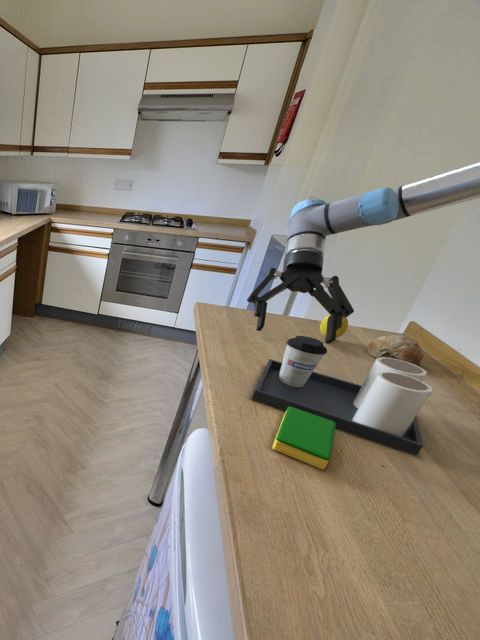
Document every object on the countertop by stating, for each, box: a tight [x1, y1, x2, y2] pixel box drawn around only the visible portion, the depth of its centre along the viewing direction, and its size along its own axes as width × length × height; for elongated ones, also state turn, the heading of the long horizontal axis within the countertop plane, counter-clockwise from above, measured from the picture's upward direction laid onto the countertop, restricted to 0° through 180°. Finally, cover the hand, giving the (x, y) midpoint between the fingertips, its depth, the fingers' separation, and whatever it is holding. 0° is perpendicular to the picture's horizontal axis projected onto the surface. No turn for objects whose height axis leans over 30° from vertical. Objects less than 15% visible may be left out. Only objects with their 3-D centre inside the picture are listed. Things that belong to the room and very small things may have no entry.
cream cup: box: [353, 357, 428, 408], centre depth 79 cm, size 7×7×10 cm
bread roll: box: [366, 334, 425, 366], centre depth 104 cm, size 10×10×8 cm
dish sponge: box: [271, 407, 336, 470], centre depth 71 cm, size 7×14×2 cm, turn 137°
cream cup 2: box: [352, 371, 433, 437], centre depth 73 cm, size 7×7×10 cm
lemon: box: [319, 314, 349, 339], centre depth 112 cm, size 6×6×8 cm
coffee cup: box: [278, 335, 328, 387], centre depth 88 cm, size 7×7×10 cm
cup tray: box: [251, 358, 424, 457], centre depth 83 cm, size 24×19×2 cm
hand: (294, 334), depth 95 cm, fingers open, 13 cm apart
